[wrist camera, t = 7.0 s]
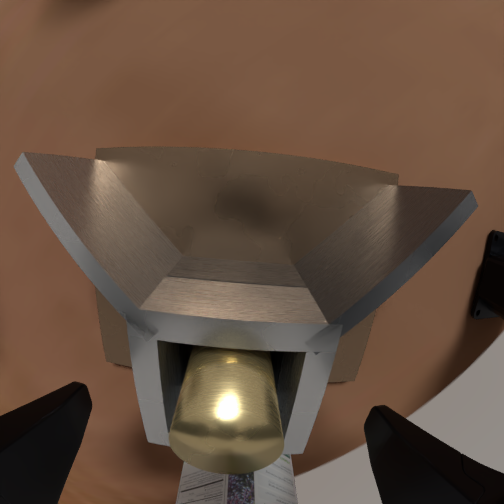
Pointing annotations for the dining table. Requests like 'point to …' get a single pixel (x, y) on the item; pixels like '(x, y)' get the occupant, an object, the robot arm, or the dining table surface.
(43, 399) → the robot arm
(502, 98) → the dining table surface
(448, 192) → the hinge
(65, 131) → the dining table surface
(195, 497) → the syrup box
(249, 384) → the hinge pin
